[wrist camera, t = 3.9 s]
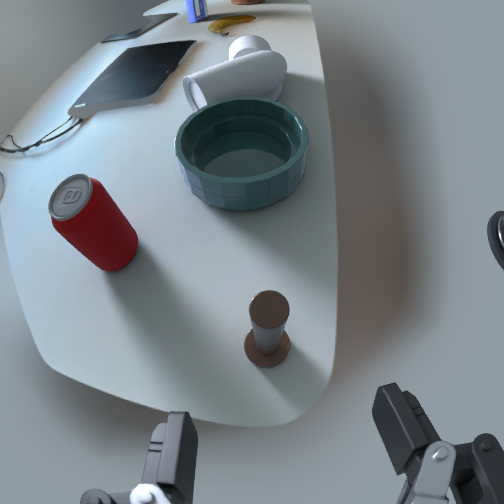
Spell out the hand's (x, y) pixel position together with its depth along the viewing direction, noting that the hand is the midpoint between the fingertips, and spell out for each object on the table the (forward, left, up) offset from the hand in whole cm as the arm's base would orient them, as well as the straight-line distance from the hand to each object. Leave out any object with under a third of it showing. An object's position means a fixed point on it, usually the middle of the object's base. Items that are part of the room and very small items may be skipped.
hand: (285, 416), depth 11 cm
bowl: (+5, -29, -18) cm, 34 cm away
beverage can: (+20, -15, -18) cm, 31 cm away
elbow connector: (+8, -47, -18) cm, 51 cm away
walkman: (+27, -100, -18) cm, 105 cm away
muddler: (+1, -5, -18) cm, 18 cm away
